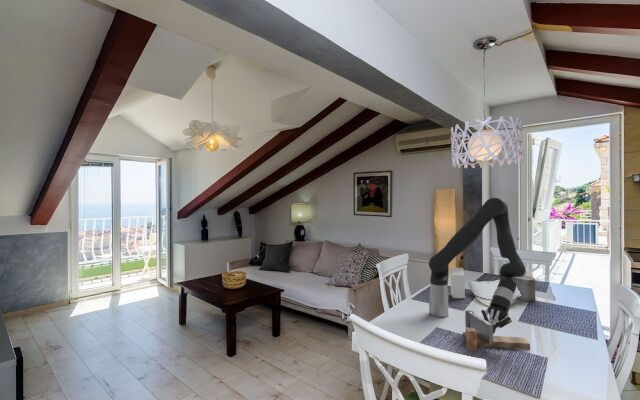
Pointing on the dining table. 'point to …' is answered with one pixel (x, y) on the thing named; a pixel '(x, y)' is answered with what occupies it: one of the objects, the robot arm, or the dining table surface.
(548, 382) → the dining table surface
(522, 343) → the door edge
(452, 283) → the milk carton
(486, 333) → the bar
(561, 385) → the dining table surface
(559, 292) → the dining table surface
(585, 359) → the dining table surface
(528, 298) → the pillar candle
